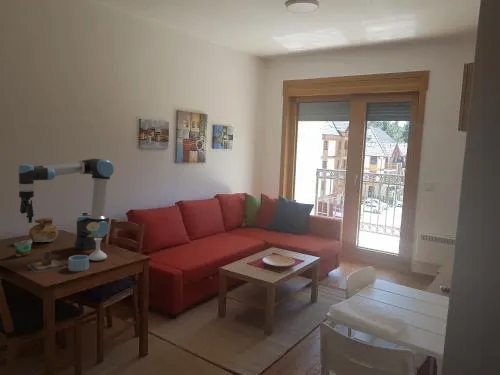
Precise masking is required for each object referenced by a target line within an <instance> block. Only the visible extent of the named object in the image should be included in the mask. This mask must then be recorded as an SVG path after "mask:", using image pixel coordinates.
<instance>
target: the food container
mask: <svg viewBox="0 0 500 375" xmlns="http://www.w3.org/2000/svg"><path fill="white" fill-rule="evenodd" d="M32 244H33V241H32V239H31V238H30V237H29V238H28V237H27V239H26V240H20V241H19V242H18V241H14V243H13V246H14V251H15V257H16V258H26V257H28V256H29V257H30V255H31V249H32Z"/></svg>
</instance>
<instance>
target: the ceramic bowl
mask: <svg viewBox="0 0 500 375" xmlns="http://www.w3.org/2000/svg"><path fill="white" fill-rule="evenodd" d="M67 264H68V265H67V266H68V267H67V269H68V271H70V272H82V271H86V270H88V269H89V268H90V259H89V255H86V254H77V255H76V254H75V255H72V256H69V257H68V261H67Z"/></svg>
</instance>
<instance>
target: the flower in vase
mask: <svg viewBox="0 0 500 375" xmlns="http://www.w3.org/2000/svg"><path fill="white" fill-rule="evenodd" d="M86 228H87V230H89V231H93V233H94V231H96V230H98V229H99V224H98V223H96V222H93V223H92V222H91V223H89V224H88V225H87V226H86ZM101 235H102V233H101V234H99V235H97V237H96V236H95V235H93V234H89V235H88V236H87V237H93V236H95V239H94V240H95V242H96V248H95V250H94V251H93V252H91V253H90V254H89V255H88V256H89V261H90V260H91V261H95V262H97V261H104V260H106V259H107V258H108V255H107V254H106V253H105V252H104V251H102V250H101V241H102V240H103V238H102V237H99V236H101Z"/></svg>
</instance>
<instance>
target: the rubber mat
mask: <svg viewBox="0 0 500 375" xmlns="http://www.w3.org/2000/svg"><path fill="white" fill-rule="evenodd" d="M57 261H58V262H60V261H59V260H57ZM60 263H61V264H63V262H60ZM26 266H27V267H28V268H29V269H31V270H32V271H33V272H35V273H40V272H41V273H42V272H46V271H51V270H52V271H53V270H57V269H58V270H59V269H63V268H67V266H66V265H65V264H63V267H59V268H54V269H48V270H43V271H37V270H36V269H34V268H33V267H32V266H31V265H30V264H27V265H26Z"/></svg>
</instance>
